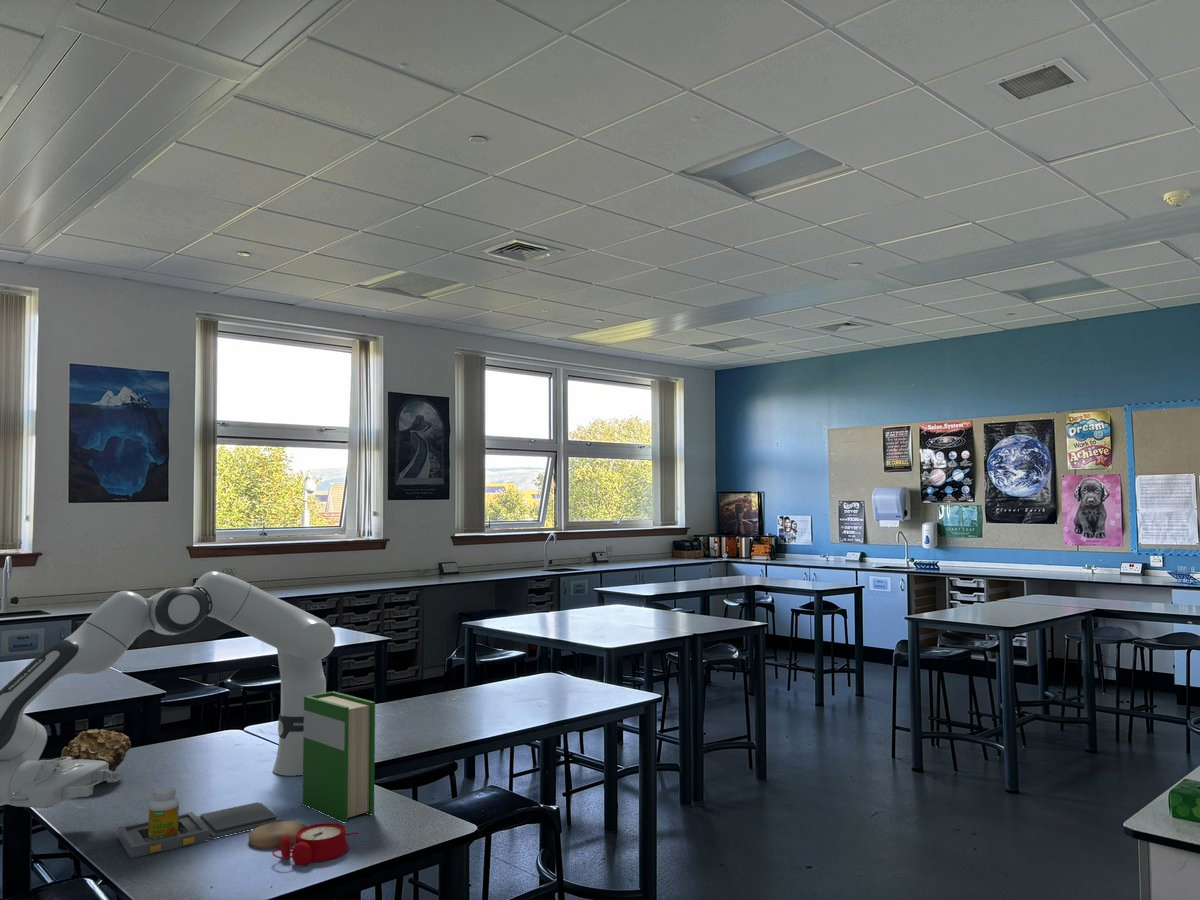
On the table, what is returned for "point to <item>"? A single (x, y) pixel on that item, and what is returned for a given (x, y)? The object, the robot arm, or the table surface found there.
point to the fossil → (99, 747)
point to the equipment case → (197, 828)
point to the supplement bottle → (163, 814)
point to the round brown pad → (274, 834)
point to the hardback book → (339, 754)
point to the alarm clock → (315, 843)
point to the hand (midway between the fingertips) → (104, 783)
